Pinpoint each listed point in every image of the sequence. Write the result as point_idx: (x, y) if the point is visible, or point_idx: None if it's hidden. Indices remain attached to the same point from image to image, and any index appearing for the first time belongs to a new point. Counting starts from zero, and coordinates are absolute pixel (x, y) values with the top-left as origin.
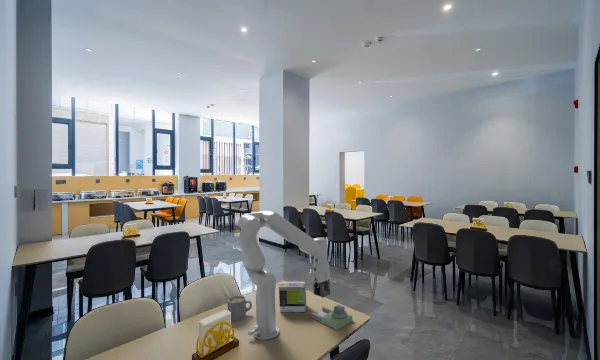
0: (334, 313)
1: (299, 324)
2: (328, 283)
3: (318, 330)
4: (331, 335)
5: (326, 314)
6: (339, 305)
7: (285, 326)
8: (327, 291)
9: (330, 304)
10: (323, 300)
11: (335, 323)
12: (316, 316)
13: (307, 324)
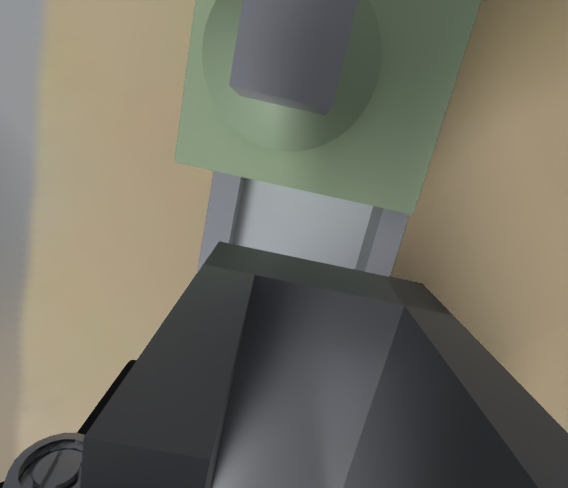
0: (340, 100)
1: (495, 336)
2: (219, 406)
3: (522, 164)
4: (558, 19)
5: (342, 196)
6: (246, 58)
7: (560, 400)
8: (279, 292)
9: (69, 295)
10: (46, 377)
11: (475, 16)
12: (389, 270)
13: (470, 287)
